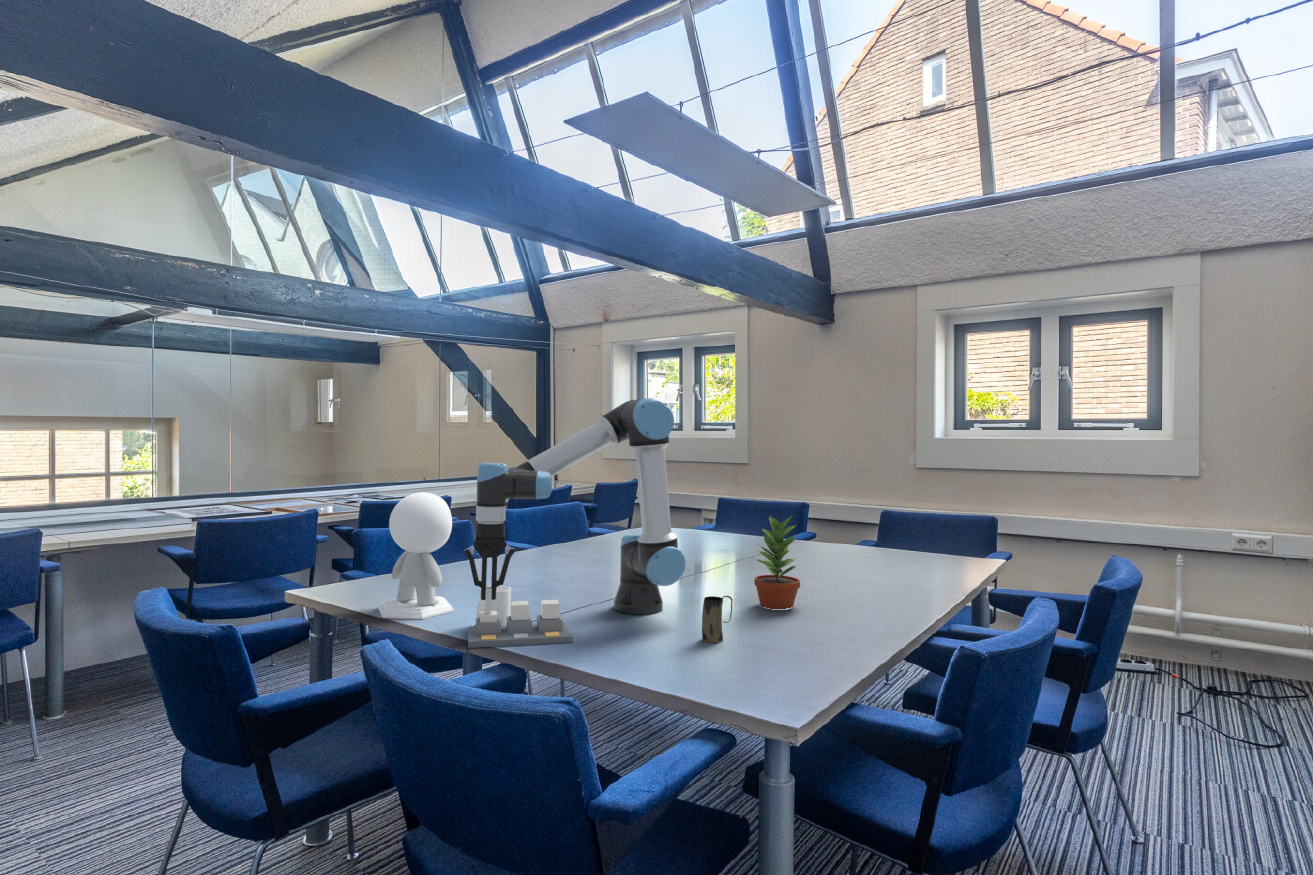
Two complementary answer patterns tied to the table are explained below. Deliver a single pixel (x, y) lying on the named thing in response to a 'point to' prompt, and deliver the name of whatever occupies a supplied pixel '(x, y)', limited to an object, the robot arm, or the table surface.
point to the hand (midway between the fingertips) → (487, 612)
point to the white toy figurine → (418, 556)
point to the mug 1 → (498, 603)
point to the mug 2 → (713, 619)
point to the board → (518, 632)
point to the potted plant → (777, 569)
